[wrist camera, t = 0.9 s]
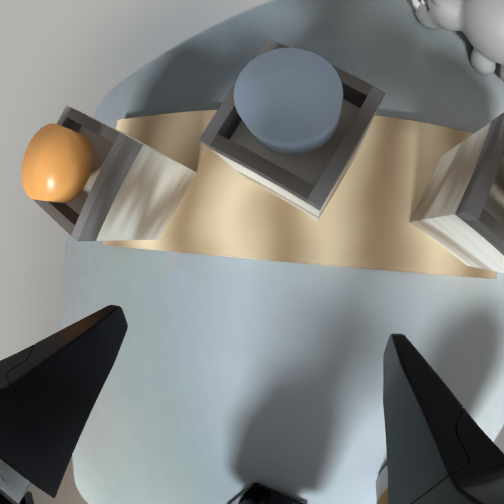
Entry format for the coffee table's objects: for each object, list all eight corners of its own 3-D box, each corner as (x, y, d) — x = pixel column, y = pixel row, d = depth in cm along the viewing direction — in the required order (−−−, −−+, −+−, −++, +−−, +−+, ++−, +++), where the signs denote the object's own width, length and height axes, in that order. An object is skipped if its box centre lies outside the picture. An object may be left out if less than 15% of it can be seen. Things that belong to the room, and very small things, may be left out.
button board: (490, 277, 20) (572, 299, 9) (110, 244, 26) (19, 248, 16) (491, 142, 19) (563, 100, 9) (123, 123, 26) (45, 82, 15)
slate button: (310, 172, 12) (309, 160, 10) (228, 129, 13) (213, 111, 11) (355, 96, 11) (360, 74, 9) (274, 59, 12) (267, 35, 10)
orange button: (72, 215, 14) (46, 213, 13) (37, 184, 15) (14, 181, 13) (104, 147, 14) (79, 137, 12) (65, 124, 15) (42, 115, 13)
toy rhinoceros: (427, 17, 21) (414, -44, 14) (529, 57, 15) (538, -5, 8) (409, 54, 22) (392, -13, 15) (522, 102, 16) (539, 36, 9)
